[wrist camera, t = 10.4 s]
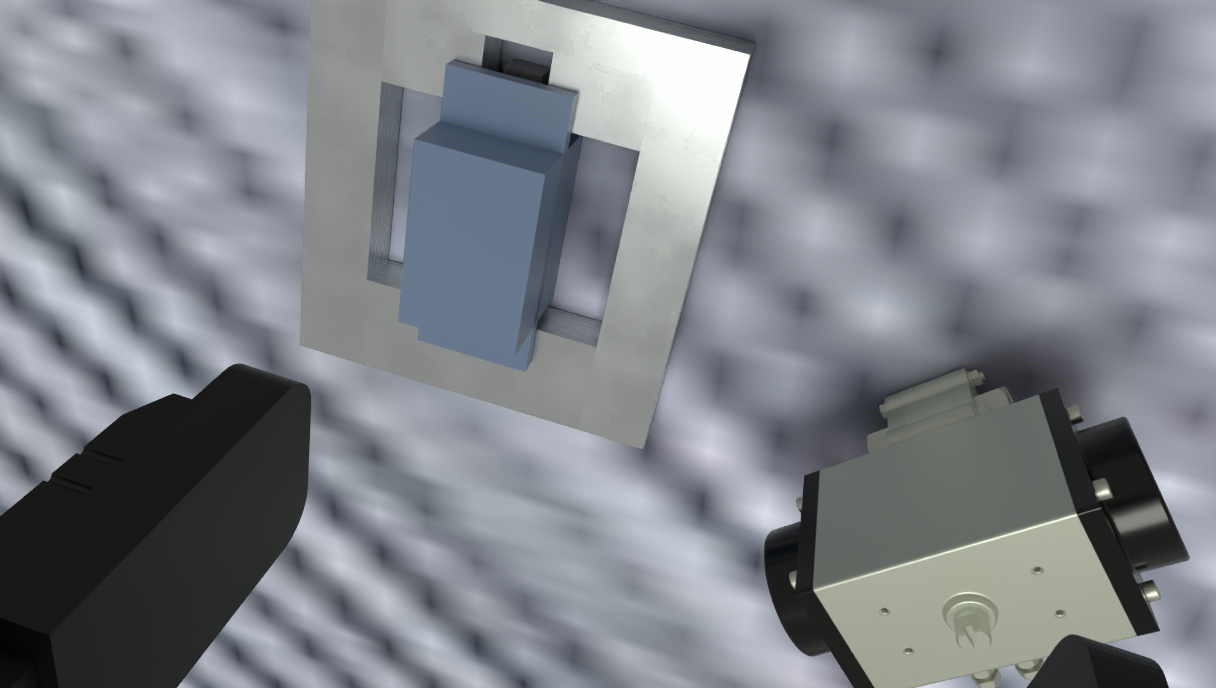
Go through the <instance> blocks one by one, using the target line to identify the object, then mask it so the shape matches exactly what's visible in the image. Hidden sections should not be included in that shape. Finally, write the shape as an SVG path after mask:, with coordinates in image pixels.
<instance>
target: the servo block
mask: <svg viewBox="0 0 1216 688" xmlns="http://www.w3.org/2000/svg"><path fill="white" fill-rule="evenodd" d="M550 71H551V68H549V67H546V66H542V65H538V64H534V63H530V62H526V61H523V60H519V59H513V60H512V61H510V62H509V63H507V64H506V65H504V68H503V73H499V72H496V71H492V70H488V69H484V68H480V67H477V66H473V65H469V64H465V63H461V62H458V61H454V60H452V61H450V62H448V63H447V64H446V68H445V77H444V87H443V97H442V106H441V116H440V121H439V122H438V123H437V124H435V125H434V126H432V127H431V128H429V129H428V130H427V131H425V132H424V133H422V134H421V135H419V136H418V137H417V138H415V139H414V149H413V160H412V171H411V182H410V193H409V205H408V216H407V227H406V238H405V249H404V260H403V271H402V282H401V293H400V304H399V316H398V322H400V323H404V324H407V325H411V326H414V327H417V328H418V338H417V340H419V341H422V342H426V343H429V344H432V345H436V346H439V347H443V348H446V349H449V350H453V351H456V352H459V353H463V354H466V355H470V356H473V357H476V358H480V359H483V360H486V361H490V362H493V363H496V364H500V365H503V366H507V367H510V368H513V369H517V370H520V371H523V372H526V370H527V368H528V367H529V365H530V361H531V355H532V350H533V344H534V338H535V333H536V327H537V322H538V320H539V318H540V317H541V315H542V314H543V312H544V311H545V309H546V308H547V306H548V305H549V303H550V302H551V300H552V298H553V295H554V290H555V284H556V279H557V273H558V268H559V263H560V257H561V252H562V246H563V241H564V236H565V230H566V225H567V219H568V214H569V209H570V203H571V198H572V192H573V187H574V182H575V176H576V171H577V165H578V160H579V155H580V149H581V144H582V138H583V136H582V135H578V134H574V133H571V131H572V125H573V119H574V114H575V108H576V103H577V97H578V93H575V92H572V91H568V90H564V89H560V88H556V87H553V86H549V85H548V83H549V77H550Z"/></svg>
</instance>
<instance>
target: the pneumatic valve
mask: <svg viewBox="0 0 1216 688" xmlns="http://www.w3.org/2000/svg"><path fill="white" fill-rule="evenodd" d="M983 380H985V376H984V373H983V372H982V371H981V372H979V371H978V370H974V371H972V372H970V371H967V370H966V368H962V369H960V370H957V371H954V372H952V373H949V374H946V375H944V376H941V377H938V378H935V379H933V380H930V381H927V382H925V383H922V384H919V385H917V386H914V387H911V388H908V389H906V390H903V391H900V392H898V393H895V394H892V395H889V396H887V397H885V402H884V404H882V405H879V408H880V412H881V414H882V416H883V418H884V419H886V418H887V422H888V427H887V428H884V429H881V430H879V431H876V432H873V433H871V434H868V435H867V447H868V451H869V453H868V454H865V455H863V456H860V457H857V458H854V459H851V460H848V461H845V462H842V463H839V464H837V465H834V466H831V467H828V468H825V469H822V470H819V471H816V472H813V473H811V474H808V475H805V476H804V487H803V497H800V498H797V499H796V504H797V507H798V510H799V511H800V512H801V521H800V522H797V523H794V524H791V525H788V526H784V527H781V528H778V529H775V530H772V531H771V532H770V533H769V534H768V536H767V538H766V541H765V545H764V566H765V574H766V579H767V584H768V588H769V592H770V595H771V598H772V601H773V604H774V607H775V610H776V612H777V615H778V617H779V619H780V621H781V623H782V625H783V627H784V629H785V631H786V633H787V634H788V636H789V638H790V639H791V640H792V642H793V643H794V644H795V646H796V647H797V648H798V649H799V650H800V651H801V652H803V653H804V654H806V655H808V656H818V655H822V654H826V653H829V652H832V654H833V656H834V657H835V659H836V660H837V662H838V663H839V665H840V667H841V668H842V670H843V671H844V673H845V674H846V676H847V678H848V679H849V681H850V682H851V684H852V685H853V687H854V688H915V687H919V686H923V685H928V684H932V683H936V682H941V681H945V680H949V679H954V678H958V677H963V676H967V675H972V676H971V677H972V679H973V680H974V682H975V683H976V684H977V685H978V687H980V688H995V687H996V686H998V684H999V683H1000V680H1001V674H1000V672H999V671H998V670H997V668H1002V667H1006V666H1010V665H1015V668H1016V669H1017V671H1018V672H1019V674H1020V675H1021V676H1022V677H1023V678H1025V679H1027V680H1033V678H1034V677H1035V675H1036V674H1037V672H1038V671H1039V669H1040V668H1041V667H1042V665H1043V664H1044V661H1043V659H1041V658H1045V657H1048V656H1049V655H1050V654H1051V652H1052V651H1053V649H1054V648H1055V646H1056V645H1057V644H1058V643H1059V641H1061V640H1062V639H1063V638H1064V637H1066V636H1068V635H1071V634H1075V635H1079V636H1082V637H1085V638H1088V639H1091V640H1095V641H1098V642H1101V643H1104V644H1106V643H1110V642H1114V641H1119V640H1123V639H1128V638H1132V637H1136V636H1141V635H1145V634H1149V633H1154V632H1158V631H1160V629H1159V626H1158V624H1157V621H1156V618H1155V616H1154V613H1153V610H1152V608H1151V605H1150V602H1152V601H1156V600H1160V599H1161V595H1160V593H1159V590H1158V588H1157V586H1156V584H1155V582H1154V580H1150V581H1146V582H1143V579H1142V577H1141V574H1140V573H1141V572H1145V571H1149V570H1153V569H1157V568H1161V567H1164V566H1168V565H1172V564H1176V563H1180V562H1184V561H1188V560H1189V559H1190V556H1189V554H1188V552H1187V549H1186V547H1185V545H1184V543H1183V541H1182V538H1181V536H1180V534H1179V532H1178V529H1177V527H1176V525H1175V523H1174V521H1173V518H1172V516H1171V514H1170V512H1169V510H1168V507H1167V505H1166V503H1165V501H1164V499H1163V496H1162V494H1161V492H1160V490H1159V488H1158V485H1157V483H1156V481H1155V479H1154V477H1153V474H1152V472H1151V470H1150V468H1149V466H1148V463H1147V461H1146V459H1145V457H1144V455H1143V452H1142V450H1141V448H1140V446H1139V444H1138V441H1137V439H1136V437H1135V435H1134V433H1133V430H1132V428H1131V426H1130V424H1129V422H1128V419H1127V418H1126V417H1120V418H1117V419H1114V420H1111V421H1108V422H1105V423H1102V424H1099V425H1096V426H1092V427H1089V428H1086V429H1083V430H1080V431H1078V429H1077V427H1076V425H1075V424H1078V423H1081V422H1084V418H1083V415H1082V413H1081V411H1080V409H1079V407H1078V405H1073V406H1070V407H1067V406H1066V404H1065V401H1064V399H1063V397H1062V395H1061V393H1060V391H1059V389H1058V388H1056V389H1053V390H1050V391H1047V392H1044V393H1042V394H1039V395H1036V396H1033V397H1030V398H1027V399H1024V400H1021V401H1018V402H1016V403H1014V401H1013V399H1012V397H1011V395H1010V393H1009V391H1008V390H1007V388H1006V387H1005V386H1003V387H1000V388H997V389H994V390H991V391H988V392H986V393H983V394H980V395H979V394H978V392H977V391H976V389H975V388H976V386H978V385H981V384H983Z"/></svg>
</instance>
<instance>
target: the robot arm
mask: <svg viewBox="0 0 1216 688" xmlns="http://www.w3.org/2000/svg"><path fill="white" fill-rule="evenodd" d="M310 420H311V394H310V390H309V388H308V387H307V385H305V384H303V383H300V382H297V381H294V380H291V379H288V378H285V377H281V376H278V375H275V374H272V373H269V372H266V371H263V370H260V369H257V368H253V367H250V366H247V365H244V364H234V365H232V366H230V367H228V368H227V369H226V370H224V371H223V372H222V373H221V374H220V375H219V376H218V377H217V378H215V379H214V380H213V381H212V382H211V383H210V384H209V385H208V386H207V387H205V388H204V389H203V390H202V391H201V392H200V393H199V394H198V395H196V396H195V397H194V398H193V399H189V398H186V397H183V396H180V395H177V394H174V393H173V394H171V395H168V396H166V397H164V398H161V399H159V400H157V401H154V402H152V403H149V404H147V405H145V406H142V407H140V408H138V409H135V410H133V411H130V412H128V413H126V414H123V415H122V416H120V417H119V418H118V419H117V420H116V421H114V422H113V423H112V424H111V425H110V426H108V427H107V428H106V429H105V430H104V431H102V432H101V433H100V434H99V435H98V436H96V437H95V438H94V439H93V440H92V441H90V442H89V443H88V444H87V445H86V446H84V450H83V452H82V453H81V454H77V453H76V454H75V455H74V456H72V457H71V458H70V459H69V460H68V461H66V462H65V463H64V464H63V465H62V466H60V467H59V468H58V469H57V470H56V471H54V472H53V473H52V476H51V479H50V480H49V481H48V482H46V481H42V482H41V483H40V484H39V485H38V486H36V487H35V488H34V489H33V490H31V491H30V492H29V493H28V494H27V495H25V496H24V497H23V498H22V499H21V500H19V501H18V502H17V503H16V504H15V505H13V506H12V507H11V508H10V509H9V510H7V511H6V512H5V513H4V514H3V515H1V516H0V688H177V687H178V685H179V684H180V683H181V682H182V680H183V679H184V678H185V676H186V675H187V674H188V673H189V671H190V670H191V669H192V667H193V666H194V665H195V664H196V662H197V661H198V660H199V658H200V657H201V656H202V655H203V653H204V652H205V651H206V649H207V648H208V647H209V645H210V644H211V643H212V642H213V640H214V639H215V638H216V636H217V635H218V634H219V633H220V631H221V630H222V629H223V627H224V626H225V625H226V624H227V622H228V621H229V620H230V618H231V617H232V616H233V615H234V613H235V612H236V611H237V609H238V608H239V607H240V606H241V604H242V603H243V602H244V600H245V599H246V598H247V596H248V595H249V594H250V593H251V591H252V590H253V589H254V587H255V586H256V585H257V584H258V582H259V581H260V580H261V578H262V577H263V576H264V575H265V573H266V572H267V571H268V569H269V568H270V567H271V566H272V564H273V563H274V562H275V560H276V559H277V558H278V557H279V555H280V554H281V553H282V551H283V550H284V549H285V547H286V546H287V544H288V543H289V541H290V540H291V538H292V536H293V534H294V532H295V530H296V528H297V526H298V524H299V521H300V519H301V516H302V513H303V510H304V506H305V502H306V497H307V489H308V467H309V443H310ZM1027 688H1169V687H1168V684H1167V681H1166V678H1165V675H1164V673H1163V671H1162V669H1161V667H1160V666H1159V665H1158V664H1157V663H1156V662H1155V661H1154V660H1152V659H1150V658H1147V657H1144V656H1141V655H1138V654H1135V653H1132V652H1129V651H1126V650H1123V649H1119V648H1116V647H1113V646H1110V645H1107V644H1104V643H1101V642H1098V641H1095V640H1091V639H1088V638H1085V637H1082V636H1079V635H1075V634H1071V635H1068V636H1066V637H1064V638H1063V639H1062V640H1061V641H1059V643H1058V644H1057V645H1056V646H1055V648H1054V649H1053V651H1052V652H1051V654H1050V655H1049V656H1048V658H1047V659H1046V661H1045V662H1044V664H1043V665H1042V667H1041V668H1040V669H1039V671H1038V672H1037V674H1036V675H1035V677H1034V678H1033V680H1032V681H1031V682H1030V684H1029V685H1028V687H1027Z"/></svg>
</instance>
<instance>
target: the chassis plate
mask: <svg viewBox="0 0 1216 688" xmlns="http://www.w3.org/2000/svg"><path fill="white" fill-rule="evenodd" d="M502 39H503V40H507V41H511V42H515V43H519V44H522V45H526V46H530V47H534V48H538V49H542V50H545V51H549V52H553V59H552V65H551V71H550V77H549V83H548V85H549V86H553V87H556V88H560V89H564V90H568V91H572V92H575V93H578V97H577V103H576V108H575V114H574V119H573V125H572V131H571V133H574V134H578V135H582V136H585V137H589V138H593V139H597V140H600V141H604V142H608V143H611V144H615V145H619V146H622V147H626V148H630V149H634V150H637V151H640V154H639V159H638V163H637V168H636V172H635V177H634V181H633V186H632V190H631V195H630V199H629V204H628V208H627V213H626V217H625V222H624V226H623V231H622V235H621V240H620V244H619V249H618V253H617V258H616V262H615V267H614V271H613V276H612V280H611V284H610V289H609V293H608V298H607V302H606V307H605V311H604V316H603V320H602V322H600V321H597V320H593V319H590V318H587V317H583V316H580V315H576V314H573V313H569V312H566V311H562V310H559V309H556V308H552V307H549V306H547V308H546V309H545V311H544V312H543V314H542V315H541V317H540V318H539V320H538V322H537V327H536V333H535V338H534V344H533V350H532V355H531V361H530V365H529V367H528V368H527V370H526V372H523V371H520V370H517V369H513V368H510V367H507V366H503V365H500V364H496V363H493V362H490V361H486V360H483V359H480V358H476V357H473V356H470V355H466V354H463V353H459V352H456V351H453V350H449V349H446V348H443V347H439V346H436V345H432V344H429V343H426V342H422V341H419V340H417V338H418V328H417V327H414V326H411V325H407V324H404V323H400V322H398V316H399V304H400V293H401V282H402V271H403V264H401V263H397V262H394V261H390V260H388V259H389V247H390V235H391V223H392V211H393V199H394V188H395V176H396V164H397V152H398V140H399V128H400V117H401V105H402V93H403V87H404V88H408V89H412V90H416V91H419V92H423V93H427V94H430V95H434V96H438V97H441V98H442V97H443V87H444V77H445V68H446V64H447V63H448V62H450V61H452V60H454V61H458V62H461V63H465V64H469V65H473V66H477V67H480V68H484V69H488V70H492V71H496V72H498V68H499V61H500V53H501V46H502ZM754 46H755V42H751V41H747V40H743V39H739V38H735V37H731V36H727V35H723V34H719V33H716V32H712V31H708V30H704V29H700V28H696V27H692V26H688V25H684V24H680V23H676V22H673V21H669V20H665V19H661V18H657V17H653V16H649V15H645V14H641V13H637V12H633V11H630V10H626V9H622V8H618V7H614V6H610V5H606V4H602V3H598V2H594V1H590V0H311V17H310V48H309V79H308V110H307V141H306V172H305V203H304V234H303V265H302V296H301V327H300V345H301V346H304V347H307V348H311V349H314V350H317V351H321V352H324V353H327V354H330V355H334V356H337V357H340V358H344V359H347V360H350V361H354V362H357V363H360V364H363V365H367V366H370V367H373V368H377V369H380V370H383V371H387V372H390V373H393V374H396V375H400V376H403V377H406V378H410V379H413V380H416V381H420V382H423V383H426V384H429V385H433V386H436V387H439V388H443V389H446V390H449V391H453V392H456V393H459V394H462V395H466V396H469V397H472V398H476V399H479V400H482V401H486V402H489V403H492V404H495V405H499V406H502V407H505V408H509V409H512V410H515V411H519V412H522V413H525V414H528V415H532V416H535V417H538V418H542V419H545V420H548V421H552V422H555V423H558V424H561V425H565V426H568V427H571V428H575V429H578V430H581V431H585V432H588V433H591V434H595V435H598V436H601V437H604V438H608V439H611V440H614V441H618V442H621V443H624V444H628V445H631V446H634V447H637V448H641V449H643V448H644V445H645V442H646V439H647V436H648V433H649V431H650V428H651V425H652V422H653V418H654V414H655V411H656V407H657V403H658V400H659V396H660V392H661V389H662V385H663V381H664V378H665V374H666V370H667V366H668V363H669V359H670V355H671V352H672V348H673V344H674V341H675V337H676V333H677V330H678V326H679V322H680V319H681V315H682V311H683V308H684V304H685V300H686V297H687V293H688V289H689V286H690V282H691V278H692V274H693V271H694V267H695V263H696V260H697V256H698V252H699V249H700V245H701V241H702V238H703V234H704V230H705V227H706V223H707V219H708V216H709V212H710V208H711V205H712V201H713V197H714V193H715V190H716V186H717V182H718V179H719V175H720V171H721V168H722V164H723V160H724V157H725V153H726V149H727V146H728V142H729V138H730V135H731V131H732V127H733V124H734V120H735V116H736V113H737V109H738V105H739V101H740V98H741V94H742V90H743V87H744V83H745V79H746V76H747V72H748V68H749V65H750V61H751V57H752V54H753V50H754Z"/></svg>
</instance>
